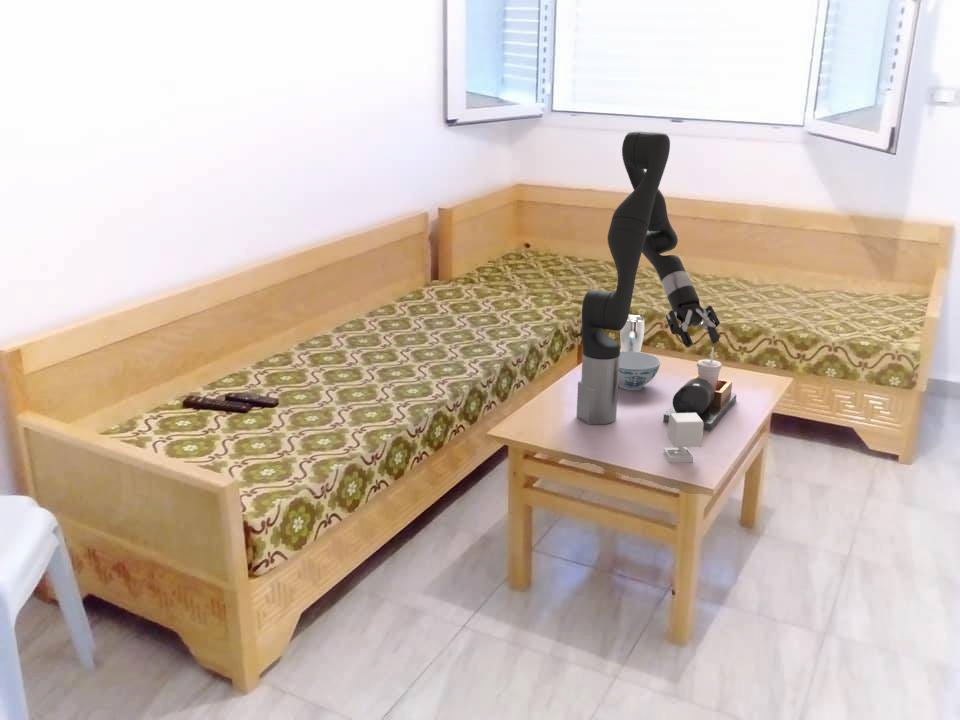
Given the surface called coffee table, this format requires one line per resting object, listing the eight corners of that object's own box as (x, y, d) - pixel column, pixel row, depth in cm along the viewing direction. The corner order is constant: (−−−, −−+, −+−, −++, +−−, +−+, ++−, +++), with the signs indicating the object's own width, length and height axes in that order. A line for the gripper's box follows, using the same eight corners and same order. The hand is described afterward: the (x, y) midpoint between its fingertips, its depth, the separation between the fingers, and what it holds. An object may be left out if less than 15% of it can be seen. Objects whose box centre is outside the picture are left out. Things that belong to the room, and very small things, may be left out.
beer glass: (636, 371, 263) (639, 322, 258) (614, 367, 267) (617, 318, 262) (645, 365, 269) (648, 316, 264) (623, 361, 272) (626, 313, 267)
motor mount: (710, 431, 222) (713, 393, 219) (663, 421, 228) (666, 384, 224) (735, 400, 242) (739, 365, 239) (692, 392, 247) (695, 358, 244)
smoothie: (712, 403, 234) (717, 352, 230) (689, 398, 238) (694, 347, 233) (722, 396, 239) (727, 346, 234) (699, 391, 243) (704, 341, 238)
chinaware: (598, 391, 248) (599, 364, 246) (612, 374, 261) (613, 348, 259) (652, 398, 243) (654, 371, 240) (663, 381, 256) (665, 355, 253)
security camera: (700, 462, 205) (704, 422, 202) (670, 463, 205) (673, 423, 201) (692, 451, 211) (695, 411, 208) (662, 451, 211) (665, 412, 207)
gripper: (664, 286, 237) (688, 340, 231) (708, 281, 242) (732, 334, 236) (651, 301, 243) (674, 354, 237) (694, 296, 249) (717, 347, 243)
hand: (703, 344), depth 237 cm, fingers open, 8 cm apart
